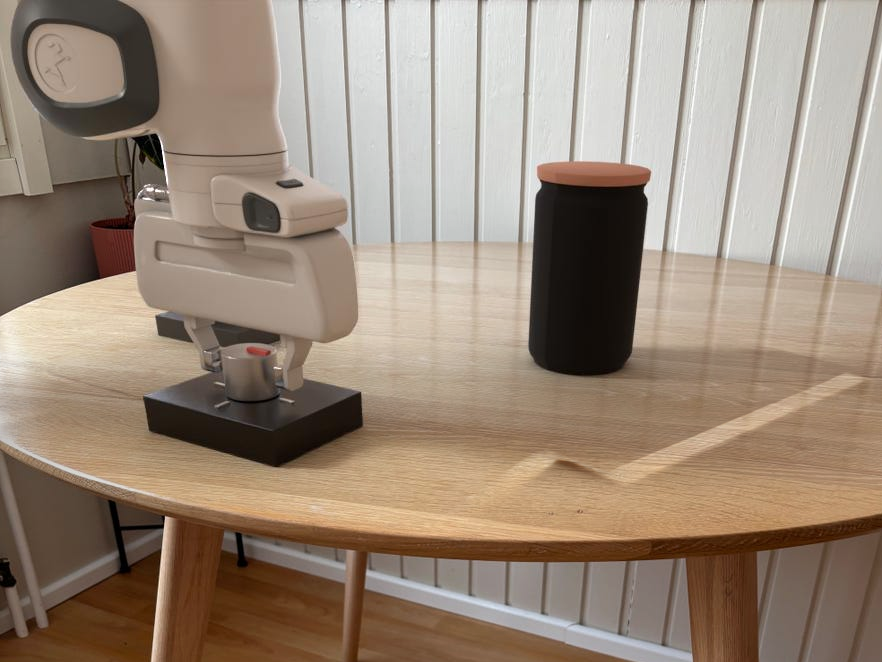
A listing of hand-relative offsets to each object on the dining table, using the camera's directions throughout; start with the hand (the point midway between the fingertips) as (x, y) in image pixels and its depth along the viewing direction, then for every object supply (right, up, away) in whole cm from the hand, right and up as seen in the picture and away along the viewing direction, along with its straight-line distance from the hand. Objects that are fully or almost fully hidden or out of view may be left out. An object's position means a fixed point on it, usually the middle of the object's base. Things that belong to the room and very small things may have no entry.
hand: (252, 378), depth 77 cm
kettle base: (-9, +12, +26) cm, 30 cm away
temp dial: (0, -1, +1) cm, 1 cm away
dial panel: (0, -4, +2) cm, 4 cm away
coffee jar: (+29, +7, +20) cm, 36 cm away
